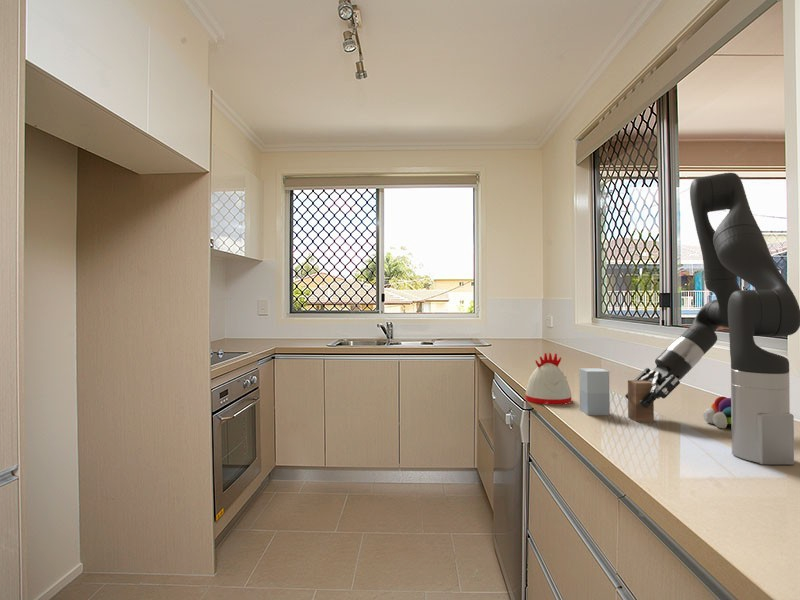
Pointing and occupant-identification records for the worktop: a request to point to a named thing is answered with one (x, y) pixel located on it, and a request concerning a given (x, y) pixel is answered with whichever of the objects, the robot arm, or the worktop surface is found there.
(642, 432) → the worktop surface
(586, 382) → the tower top
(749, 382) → the robot arm
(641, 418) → the walnut post
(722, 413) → the multicoloured plush toy
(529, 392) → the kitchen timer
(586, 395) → the tower base
